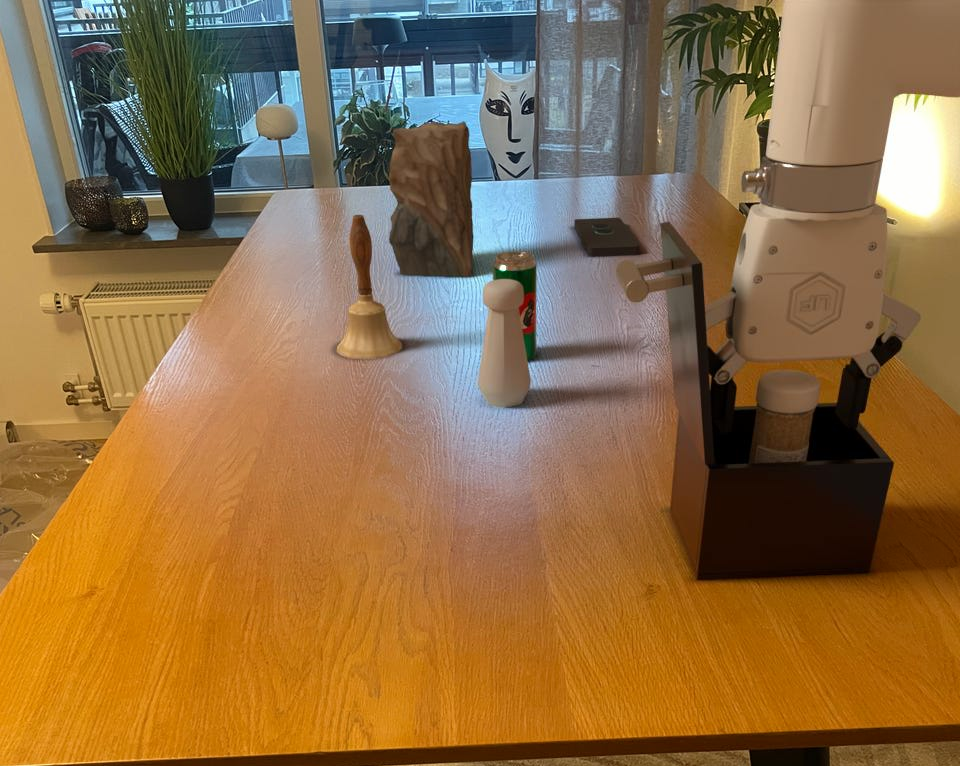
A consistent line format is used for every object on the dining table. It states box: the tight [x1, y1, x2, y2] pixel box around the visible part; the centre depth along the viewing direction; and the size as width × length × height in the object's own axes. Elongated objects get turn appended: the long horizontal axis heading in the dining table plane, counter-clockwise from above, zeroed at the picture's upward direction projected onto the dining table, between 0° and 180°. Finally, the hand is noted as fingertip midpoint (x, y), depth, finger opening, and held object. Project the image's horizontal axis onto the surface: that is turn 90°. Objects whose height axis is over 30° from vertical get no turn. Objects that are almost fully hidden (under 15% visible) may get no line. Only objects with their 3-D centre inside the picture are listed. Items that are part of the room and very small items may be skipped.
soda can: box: [492, 250, 538, 361], centre depth 118 cm, size 5×5×12 cm
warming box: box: [669, 402, 895, 581], centre depth 81 cm, size 14×12×10 cm
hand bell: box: [336, 214, 403, 360], centre depth 121 cm, size 8×8×16 cm
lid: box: [615, 221, 714, 465], centre depth 74 cm, size 14×12×5 cm
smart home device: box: [573, 217, 640, 258], centre depth 166 cm, size 8×2×20 cm
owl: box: [388, 120, 474, 278], centre depth 150 cm, size 13×13×20 cm
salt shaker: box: [477, 279, 532, 409], centre depth 107 cm, size 6×6×13 cm
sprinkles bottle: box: [748, 369, 821, 464], centre depth 79 cm, size 5×5×13 cm
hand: (783, 424), depth 78 cm, fingers open, 9 cm apart
